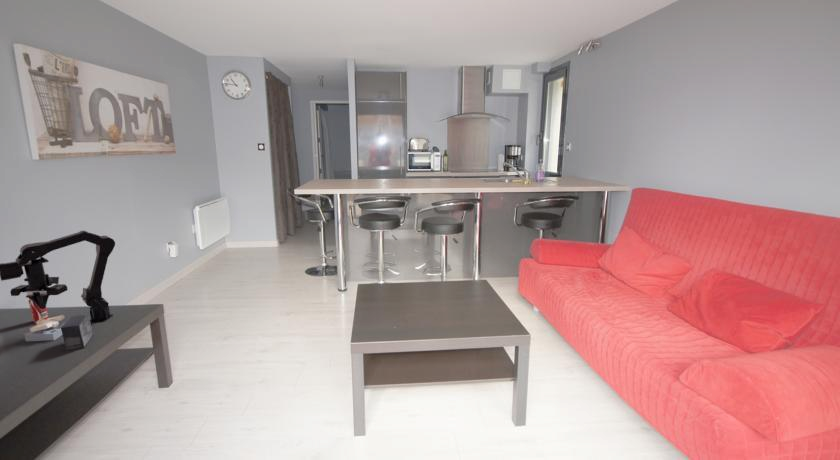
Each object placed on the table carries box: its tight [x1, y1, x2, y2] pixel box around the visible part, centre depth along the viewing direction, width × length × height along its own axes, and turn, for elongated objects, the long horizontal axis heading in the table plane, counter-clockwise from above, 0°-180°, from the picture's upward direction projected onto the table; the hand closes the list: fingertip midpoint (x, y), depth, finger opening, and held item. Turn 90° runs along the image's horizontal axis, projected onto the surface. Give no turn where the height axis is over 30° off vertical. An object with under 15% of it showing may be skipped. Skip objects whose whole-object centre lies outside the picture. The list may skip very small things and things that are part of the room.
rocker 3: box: [46, 314, 66, 322], centre depth 177 cm, size 7×2×2 cm, turn 95°
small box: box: [61, 313, 95, 351], centre depth 167 cm, size 11×6×10 cm, turn 21°
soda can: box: [28, 298, 50, 324], centre depth 186 cm, size 5×5×12 cm
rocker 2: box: [35, 319, 60, 328], centre depth 174 cm, size 7×2×2 cm, turn 96°
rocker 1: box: [29, 322, 53, 332], centre depth 171 cm, size 7×2×2 cm, turn 95°
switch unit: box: [23, 321, 67, 342], centre depth 175 cm, size 11×11×4 cm
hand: (43, 308), depth 174 cm, fingers closed
